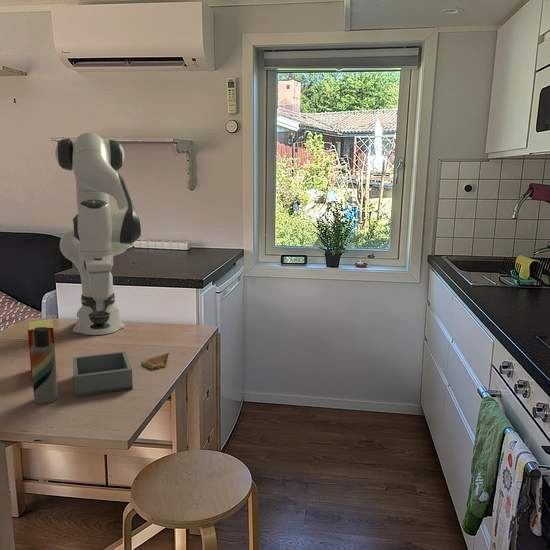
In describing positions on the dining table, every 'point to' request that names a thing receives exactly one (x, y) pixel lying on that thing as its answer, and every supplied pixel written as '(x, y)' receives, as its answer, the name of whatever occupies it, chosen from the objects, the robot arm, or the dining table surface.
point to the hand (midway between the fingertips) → (98, 308)
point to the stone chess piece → (99, 317)
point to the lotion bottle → (43, 367)
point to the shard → (156, 361)
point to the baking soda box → (35, 324)
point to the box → (102, 373)
